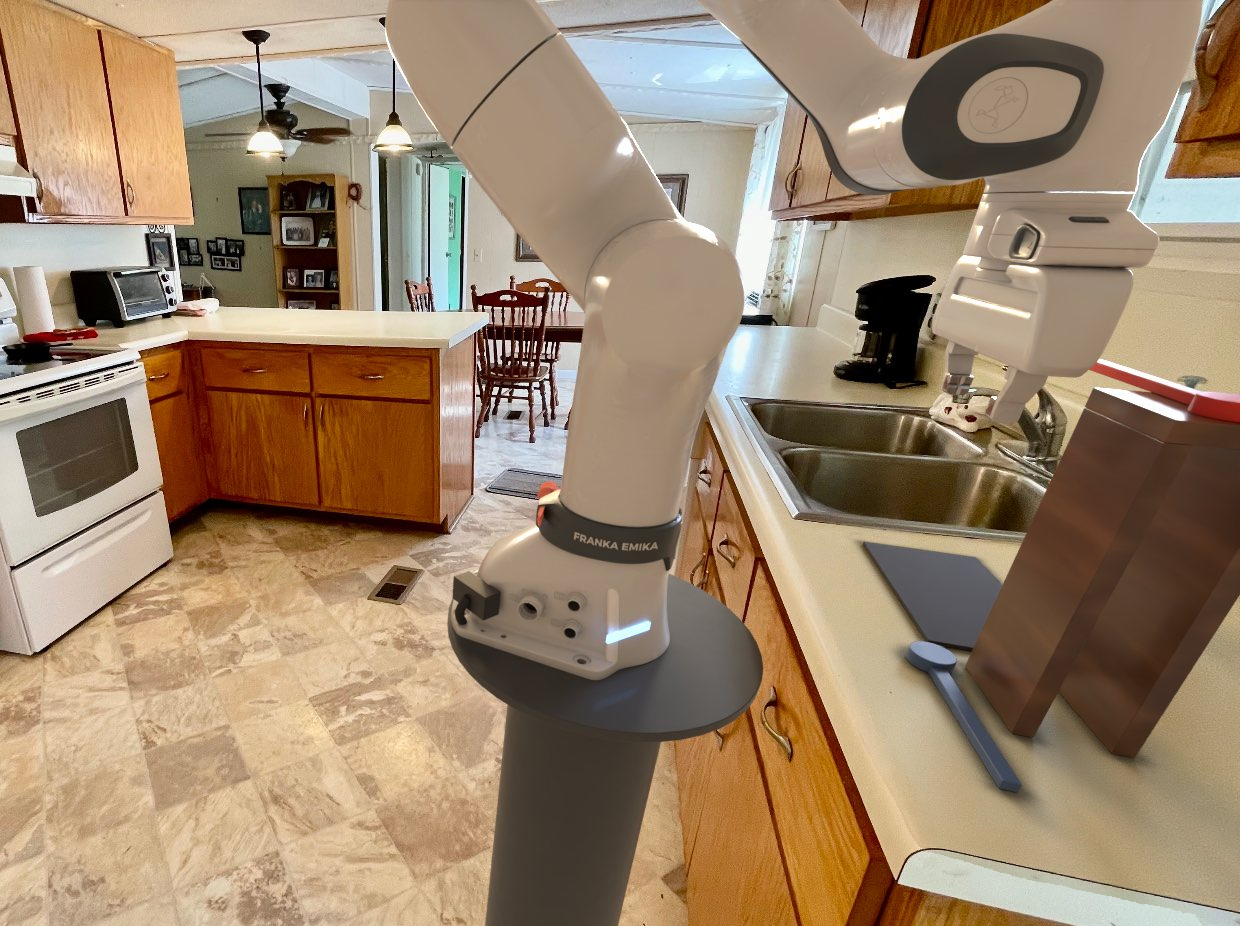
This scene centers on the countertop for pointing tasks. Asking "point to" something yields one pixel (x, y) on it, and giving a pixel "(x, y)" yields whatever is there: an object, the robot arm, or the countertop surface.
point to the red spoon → (1176, 392)
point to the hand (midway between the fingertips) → (974, 406)
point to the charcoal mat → (939, 591)
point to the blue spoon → (962, 709)
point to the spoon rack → (1118, 571)
